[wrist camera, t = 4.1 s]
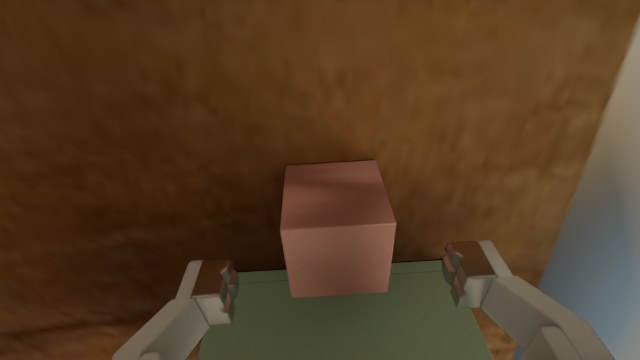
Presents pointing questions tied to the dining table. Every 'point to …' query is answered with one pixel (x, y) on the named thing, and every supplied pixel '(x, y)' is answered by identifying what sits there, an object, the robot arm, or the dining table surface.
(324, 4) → the dining table surface
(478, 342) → the box
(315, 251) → the block
